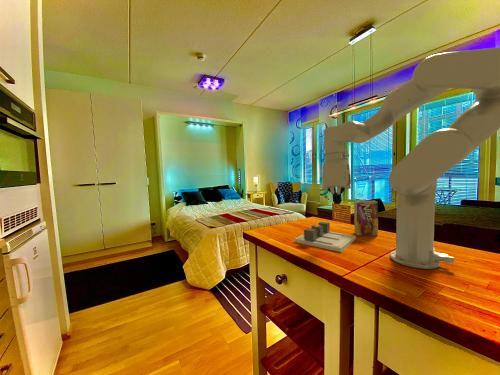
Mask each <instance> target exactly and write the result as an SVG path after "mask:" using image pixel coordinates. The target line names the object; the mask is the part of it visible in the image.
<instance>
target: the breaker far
mask: <svg viewBox="0 0 500 375" xmlns="http://www.w3.org/2000/svg"><path fill="white" fill-rule="evenodd" d="M317 225H320V226H323V232H325V233H328V232H331V230H330V228H331V227H330V226H331V224H330V222H326V221H319V222H318V224H317Z"/></svg>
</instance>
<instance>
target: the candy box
mask: <svg viewBox="0 0 500 375" xmlns="http://www.w3.org/2000/svg"><path fill="white" fill-rule="evenodd" d="M378 203H379V202H378V201H376V200H354V201H353V211H354V212H353V215H354V217H353V218H354V220H353V222H354V225H353V226H354V234H355V236H356V235H357V236H379V206H378V205H379V204H378Z"/></svg>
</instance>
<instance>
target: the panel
mask: <svg viewBox="0 0 500 375" xmlns="http://www.w3.org/2000/svg"><path fill="white" fill-rule="evenodd" d="M316 237H317V239H316V240H315V241H310V240H305V239H304V233H303V234H301V235H299V236H297V237H296V238H294V243H299V244H302V245H306V246H311V247H316V248H321V249H324V250H330V251H333V252H339V253H342V252H343V251H344V250H346V249H347V248H348V247H349V246H350V245H351V244H352V243H354V242H355V241H356V239H357V236H356V235H354V234H353V235H352V234H345V233H340V232H333V231H329V232H328V233H325V232H323V236H321V237H319V236H316Z"/></svg>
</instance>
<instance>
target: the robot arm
mask: <svg viewBox="0 0 500 375" xmlns="http://www.w3.org/2000/svg"><path fill="white" fill-rule="evenodd" d="M450 89H453V90H454V89H455V90H456V89H458V90H459V89H460V90H461V89H465V90H466V89H468V90H471V91H472V93H474V96H475V101H474V103H473V104H471V105H470V107H469V108H467V109H466V110H465V111H464V112H463V113H461V114H460V115H459V116H458V117H457V118H456V119H455V120H454V121H453V122H452V123H451V124H449V126H448V127H446V128H440V129H438V130H435V131H433V132H431V133H430V134H429V135H427V136H425V137H424V138H423V139H422V140H420V142H418V144H417V145H415V147H413V148H412V149H411V150H410V151H409V152H408V153H407V154H406V155H405V156H404V157H403V158H402V159H401V160H400V161H399V162H398V163H397V164H396V165H395V166H394V167H393V168H392V169H391V170H390V173H389V177H388V182H389V184H390V187H391V188H392V189H393V191H395V192H396V193H397V196H396V213H395V214H396V215H395V216H396V218H395V220H396V223H395V225H396V227H395V228H396V229H395V250H393V251H391V252H390V255H389V256H390V257H389V258H391V259H392V261H394V262H395V263H398V264H400V265H403V266H406V267H409V268H410V267H411V268H415V269H423V270H432V269H433V270H434V269H437V268H439V267H440V265H441V263H440V262H442V263H448V264H451V265H453V264H454V262H455V260H454V259H455V257H454V256H449V255H448V254H447V253H440V252H438V251H435V250H436V248H435V247H434V242H435V241H434V238H435V213H436V194H437V186H438V179H439V178H440V177H442V176H443V175H444V174H446V173H447V172H448V171H450V170H451V169H452V168H453V167H455V166H456V165H457V164H459V163H462V162H463V161H464V160H466V159H467V158H468V157H469V156H470V154H472V152H474V151H475V150H476V149H478V148H479V146H481V145H482V144H483V143H485V142H486V141H488V139H490V138H491V137H492V136H493V135H494V134H495V133H496V132H497V131H499V130H500V46H499V47H489V48H480V49H471V50H470V49H468V50H458V51H449V52H442V53H436V54H433V55H430V56H428V57H426V58H424V59H423V60H421V61H420V62H419V63H418V64H417V65H416V67H414V71H413V72H412V78H411V79H409V80H408V81H407V82H405V83H403V84H402V85H401V86H399V87H398V88H396V89H395V90H393V91H391V92H390V93H389V94H387V95H386V96H385V97H384V99H383V102H382V104H381V106H380V107H379V109H378V111H376V112H375V113H374V114H373V115H372V116H370V117H369V118H367V119H366V120H364V121H362V122H359V121H355V120H347V121H345V122H343V123H340V124H338V125H333V126H328V127H326V128H325V129H324V131H323V145H324V146H323V147H324V162H323V164H322V165H323V166H322V178H321V179H322V189H323V190H324V191H329V193H330V194H331V195H332V203H333V205H340V204H341V203H342V201H343V200H342V198H343V197H342V194H343V193H344V192H345V191H347V190H351V188H352V176H351V169H350V164H349V161H348V160H347V158H349V157H350V154H349V153H346V150H345V149H346V146H345V143H354V144H363V143H366V142H368V141H370V140H372V139H374V138H375V137H377V136H379V135H380V134H382V133H384V132H385V131H386V130H388V129H389V128H390V127H392V126H393V125H394V124H396V123H397V122H398V121H399V120H400V119H402V118H403V117H405V116H406V115H408V114H410V113H411V112H413V111H415V110H417V109H418V108H420V107H422V106H424V105H426V104H427V103H429V102H431V101H432V100H434V99H436V98H437V97H439V96H441V95H442V94H444V93H446V92H447V91H448V90H450ZM336 187H337V188H336Z"/></svg>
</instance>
